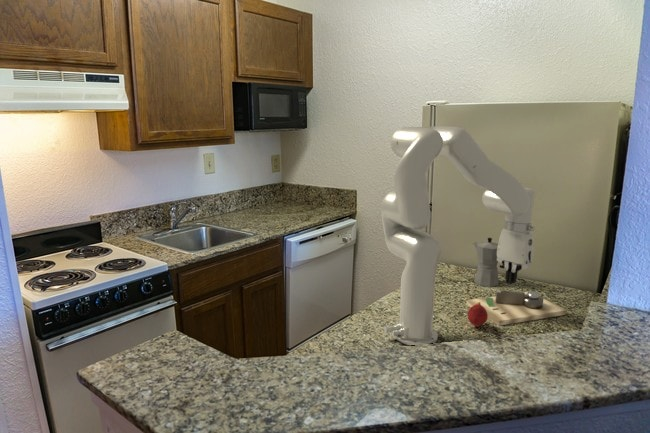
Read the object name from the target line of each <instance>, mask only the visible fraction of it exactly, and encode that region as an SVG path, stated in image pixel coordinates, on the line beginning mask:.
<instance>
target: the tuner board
mask: <svg viewBox="0 0 650 433" xmlns="http://www.w3.org/2000/svg"><path fill="white" fill-rule="evenodd" d="M523 292H524V293H525V295H526V294H527V292H528V291H523ZM495 299H496V295H495V296H489V297H488V296H487V297H480V298H475V299H474V298H473V299H468V300H467V299H466V306H468V307H469V308H471V307H472V306H474V305H476V304H477V302H480V305H481V306H483V307H484V308H485V309H486V311H487V314H488V318H487V320H490V321H492V322H493V323H494V324H496V325H497V326H504V325H505V326H506V325H511V324H518V323H522V322H530V321H535V320H540V319H541V320H542V319H547V318H555V317H559V316H560V317H561V316H566V315H567V311H568V310H567V309H565V308H563V307H562V306H559V305H557V304H555V303H553V302H551V301H549V300H547V299H545V298H543V299H544V300H543V307H542V308H539V309H533V308H528V307H525V306H523V305H518V304H506V303H496V301H495Z"/></svg>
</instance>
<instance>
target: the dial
mask: <svg viewBox="0 0 650 433" xmlns="http://www.w3.org/2000/svg"><path fill="white" fill-rule="evenodd" d="M524 292H525V291H509V290H501V289H496V290H495V296H496V299H495V301H496V303H506V304H518V305H523V306H525V307H528V308H533V309H539V308H542V307H543V300H544V299H545V298H543V297H542V296H540V293H539V292H537V291H533V290H532V291H530V290H529V291H526V292H527V294H526V295H525V293H524Z"/></svg>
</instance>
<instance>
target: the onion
mask: <svg viewBox="0 0 650 433" xmlns="http://www.w3.org/2000/svg"><path fill="white" fill-rule="evenodd" d="M467 319H468V321H469V322H470V324H471V325H473V326H474V327H476V328H479V327H480V326H482V325H484V324H486V322H487V320H488V314H487V311H486V309H485V308H484V307H483V306H481V305H480V302H477V304H476V305H474V306H472V307H469V309H468V311H467Z"/></svg>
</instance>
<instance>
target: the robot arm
mask: <svg viewBox="0 0 650 433" xmlns="http://www.w3.org/2000/svg"><path fill="white" fill-rule="evenodd" d="M390 147H391V150H392V151H393V153H394V154H396V156H397V157H400V158H401V159H400V160H399V162H398V163H397V165H396V168H395V171H394V174H393V175H394V177H393V179H394V180H393V181H394V190H392V191H389V192H388V193H386V195H385V196H384V197H383V200H382V202H381V205H380V215H381V222H382V227H383V228H382V229H383V234H384V240H385V244H386V247H387V249H388V250H389V252H390V253H391V254H392V255H394V256H395V257H398V258H400V259H402V260H404V261H405V262H406V264H405V267H404V269H403V270H402V273H401V278H400V298H399V299H400V301H399V319H396V320H395V322H396V323H395V324H393V325H387V326H383V332H384V334H390V333H391V334H392V336H393V337H394V338H395V339H396V340H397V342H399V343H402V344H403V345H407V346H411V345H419V344H429V343H433V344H436V342H437V341H438V339H439V338H438V332H437V331H436V330H435V329H434V328H433V326H434V325H433V324H434V311H435V310H434V309H435V306H434V305H435V291H436V278H437V268H438V265H439V261H440V257H441V245H440V242H439V241H438V239H437V238H436V237H435V236H433V235H432V234H430V233H428V232H425V231H423V230H421V229H424V228H426V227H427V226H428V225H429V223H430V220H431V207H430V197H429V191H428V183H427V182H428V180H427V176H428V172H429V169H430V168H431V165H432V164H433V162H434V161H435V159H437V157H439V156H440V157H445V158H447V159H448V160H449V161H450V163H452V165H453V166H454V167H455V168H456V169H457V170H458V172H459V173H460V174H461V176H463V178H464V179H465V180H466V181H468V182H469V183H471V184H473V185H475V186H477V187H479V188H481V189H484V190H485V191H483V193H482V196H481V201H482V204H483V205H484V207H485V208H486V209H487V210H489V211H494V212H497V213H502V214H505V217H504V218H505V219H504V228H502V229H501V233H500V234H499V238H498V243H497V244H498V247H497V261H498V263H500V264H502V265H503V266H504V267H505V268H504V270H505V277H504V278H505V284H509V285H513V284H515V283H516V282H517V280H518V278H517V277H518V272H519V271H520V270H528V269H530V268H531V266H530V264H531V263H532V262H533V259H534V235H533V233H532V232H533V231H535V226H533V225H532V219H533V218H532V217H533V210H534V204H535V197H536V196H535V194H536V193H535V191H534V189H533V188H530V187H524V186H523V184H522V183H521V182H520V181H519V180H518V179H517V178H516V177H515V176H514V175H513V174H512V173H510V172H508V171H506V170H505V169H504V168H502V167H501V166H500V165H499V164H497V163H496V162H494V161H492V160H491V159H490V158H489V157H488V155H487V154H486V153H485V152H484V150H483V149H482V147H480V145H479V143H477V141H476V140H475V139H474V138H473V137H472V135H471V133H469V131H467V129H465V128H463V127H460V126H445V125H442V126H440V125H439V126H438V125H437V126H404V127H400V128H398V129H397V130H396V131H395V132H394V133H393V134H392V136H391V138H390Z"/></svg>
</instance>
